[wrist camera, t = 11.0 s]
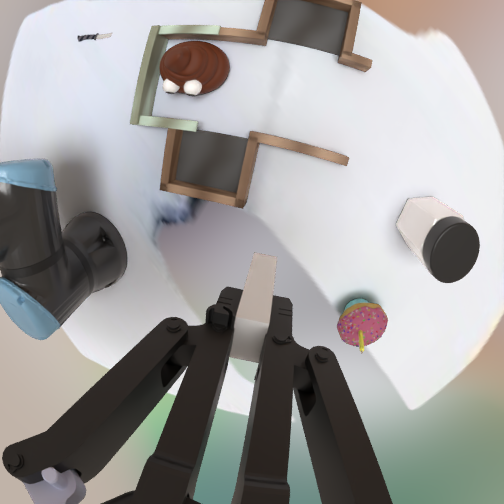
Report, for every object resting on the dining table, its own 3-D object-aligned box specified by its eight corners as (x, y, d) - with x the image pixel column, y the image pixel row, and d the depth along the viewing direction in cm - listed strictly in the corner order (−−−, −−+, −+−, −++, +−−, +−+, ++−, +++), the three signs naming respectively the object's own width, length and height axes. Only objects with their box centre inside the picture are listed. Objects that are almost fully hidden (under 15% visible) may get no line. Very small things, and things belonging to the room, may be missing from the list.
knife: (77, 46, 30) (74, 46, 29) (80, 35, 29) (77, 35, 28) (163, 32, 29) (161, 30, 28) (167, 19, 28) (164, 17, 27)
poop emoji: (237, 48, 30) (220, 26, 21) (223, 102, 33) (202, 94, 25) (173, 44, 30) (143, 26, 21) (160, 94, 34) (126, 88, 25)
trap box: (136, 179, 40) (123, 185, 36) (178, -12, 25) (168, -22, 21) (324, 223, 39) (327, 233, 35) (375, 16, 24) (382, 7, 20)
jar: (395, 248, 39) (423, 289, 28) (394, 198, 36) (429, 226, 25) (440, 242, 37) (476, 278, 26) (442, 194, 34) (485, 219, 23)
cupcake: (324, 315, 46) (330, 366, 35) (355, 280, 42) (371, 327, 31) (359, 333, 47) (370, 382, 36) (390, 301, 43) (410, 348, 32)
